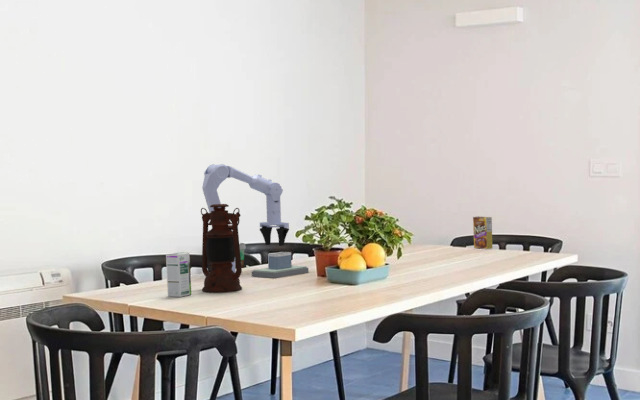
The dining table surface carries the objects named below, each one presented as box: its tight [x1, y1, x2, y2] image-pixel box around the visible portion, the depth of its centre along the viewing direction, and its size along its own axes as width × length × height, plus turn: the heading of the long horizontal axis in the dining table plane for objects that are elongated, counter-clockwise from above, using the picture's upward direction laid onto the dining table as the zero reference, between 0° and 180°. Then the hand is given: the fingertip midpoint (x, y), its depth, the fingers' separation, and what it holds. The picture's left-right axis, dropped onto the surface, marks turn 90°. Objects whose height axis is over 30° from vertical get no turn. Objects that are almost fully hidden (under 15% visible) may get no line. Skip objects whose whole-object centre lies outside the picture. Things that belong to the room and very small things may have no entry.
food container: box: [235, 242, 247, 270], centre depth 381 cm, size 12×6×10 cm, turn 143°
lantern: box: [200, 203, 243, 294], centre depth 313 cm, size 17×14×30 cm
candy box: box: [472, 216, 493, 250], centre depth 434 cm, size 9×4×15 cm, turn 35°
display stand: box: [251, 264, 310, 279], centre depth 353 cm, size 20×12×2 cm, turn 140°
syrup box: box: [165, 251, 192, 298], centre depth 303 cm, size 6×6×14 cm
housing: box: [267, 251, 293, 270], centre depth 353 cm, size 5×8×6 cm, turn 140°
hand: (274, 245), depth 367 cm, fingers open, 7 cm apart
